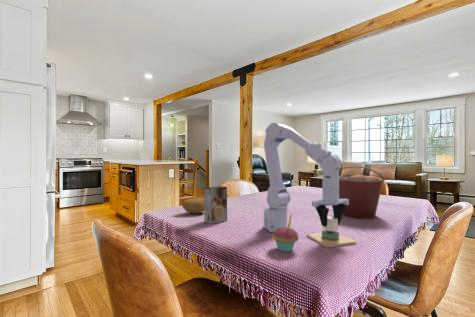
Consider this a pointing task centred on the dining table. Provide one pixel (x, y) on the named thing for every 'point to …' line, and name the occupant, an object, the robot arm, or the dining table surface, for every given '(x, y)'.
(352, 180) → the bucket
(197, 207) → the potato
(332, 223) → the cap
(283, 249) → the cupcake
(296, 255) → the dining table surface
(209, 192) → the coffee box
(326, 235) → the beige square tray
